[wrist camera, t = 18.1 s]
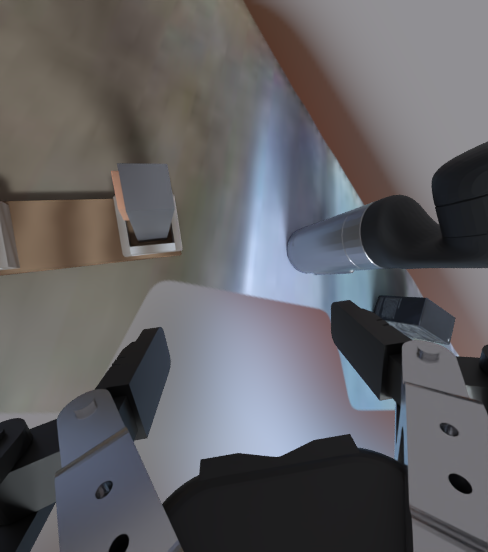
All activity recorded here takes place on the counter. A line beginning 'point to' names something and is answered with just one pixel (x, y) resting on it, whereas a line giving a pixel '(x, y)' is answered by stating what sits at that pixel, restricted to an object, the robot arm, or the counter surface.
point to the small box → (416, 317)
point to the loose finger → (145, 199)
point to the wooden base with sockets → (73, 235)
